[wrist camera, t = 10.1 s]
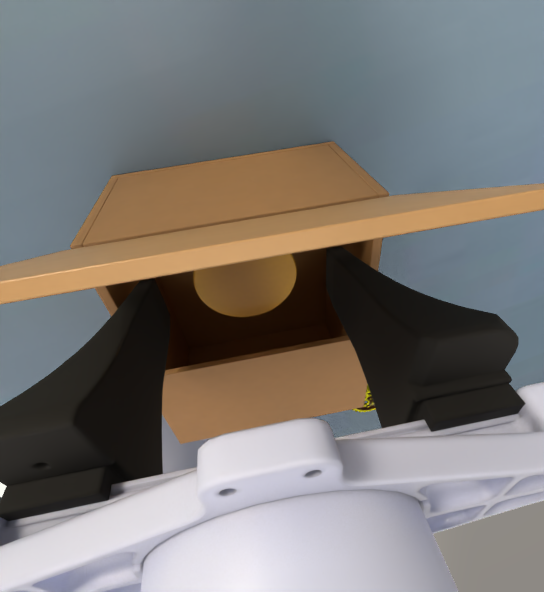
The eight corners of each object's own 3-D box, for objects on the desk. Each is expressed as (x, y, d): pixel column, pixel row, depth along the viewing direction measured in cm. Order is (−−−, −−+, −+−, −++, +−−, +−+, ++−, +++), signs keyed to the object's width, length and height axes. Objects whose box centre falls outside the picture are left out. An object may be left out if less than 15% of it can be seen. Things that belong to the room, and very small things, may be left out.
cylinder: (273, 177, 16) (294, 225, 12) (280, 251, 19) (299, 308, 15) (185, 192, 16) (179, 244, 12) (206, 264, 19) (206, 325, 15)
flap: (65, 260, 10) (61, 250, 10) (396, 204, 11) (396, 194, 11) (-187, 337, 4) (-201, 315, 4) (601, 200, 5) (603, 178, 5)
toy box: (111, 175, 15) (61, 258, 10) (333, 140, 16) (399, 201, 11) (185, 349, 24) (180, 445, 18) (329, 322, 24) (364, 407, 19)
